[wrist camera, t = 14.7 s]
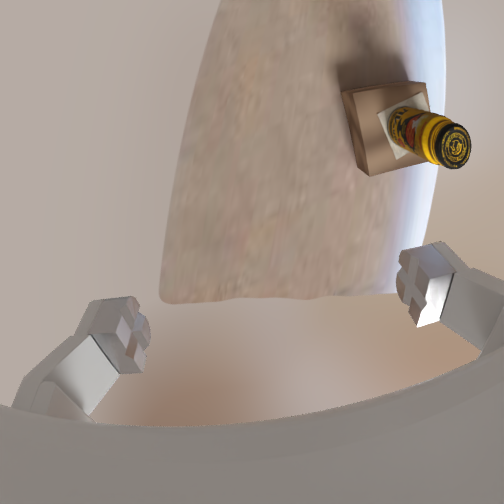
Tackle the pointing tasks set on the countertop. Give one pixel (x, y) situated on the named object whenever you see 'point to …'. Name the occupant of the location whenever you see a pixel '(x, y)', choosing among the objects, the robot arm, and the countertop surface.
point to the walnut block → (378, 125)
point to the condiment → (425, 133)
